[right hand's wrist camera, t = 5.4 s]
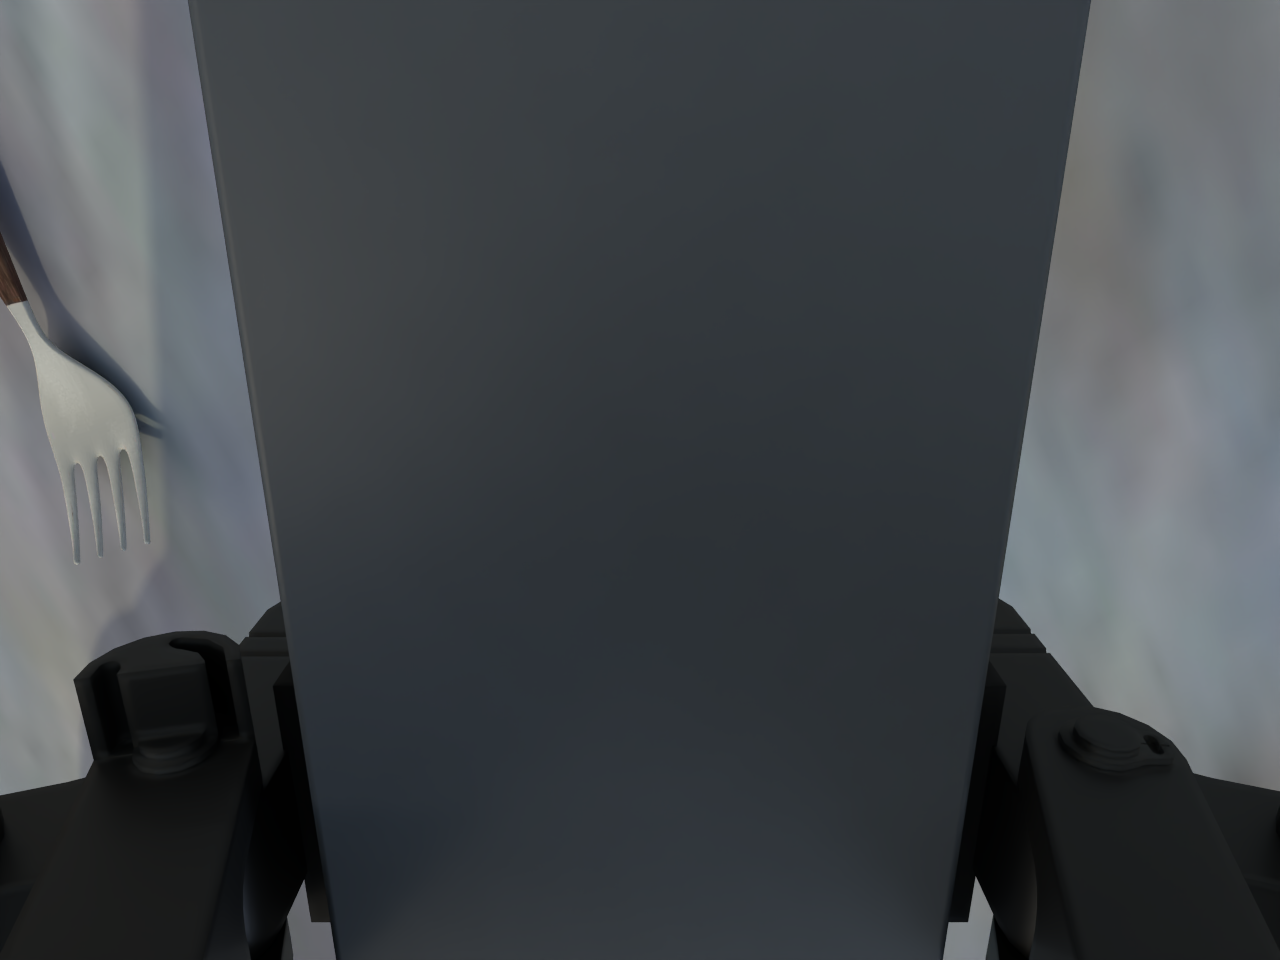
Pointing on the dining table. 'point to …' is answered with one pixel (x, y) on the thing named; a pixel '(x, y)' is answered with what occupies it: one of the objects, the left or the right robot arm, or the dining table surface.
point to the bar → (639, 448)
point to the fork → (79, 418)
